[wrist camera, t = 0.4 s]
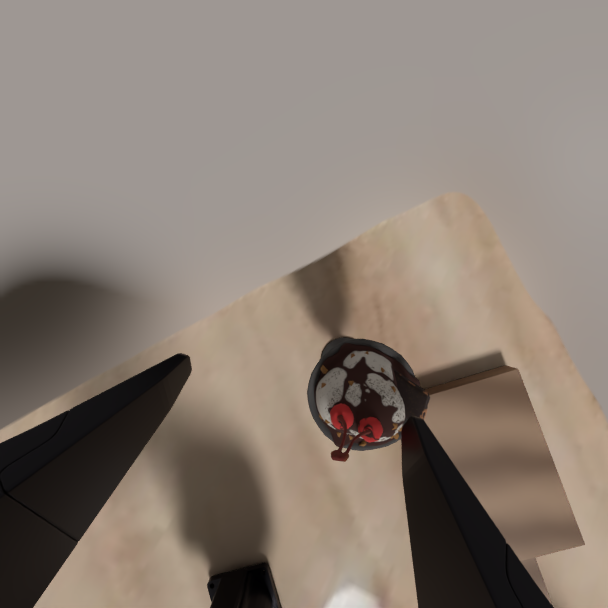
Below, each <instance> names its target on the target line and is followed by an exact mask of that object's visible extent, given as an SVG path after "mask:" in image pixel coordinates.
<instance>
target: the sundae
mask: <svg viewBox="0 0 608 608" xmlns="http://www.w3.org/2000/svg"><path fill="white" fill-rule="evenodd" d="M307 395H308V403H309V408H310V411H311V414H312V416H313V418H314V420H315V422H316V424H317V425H318V427H319V428H320V429H321V431H322V432H323V433H324V435H325V436H327V437H328V438H329V439H330V440H332V441H333V442H334V444H335V445H336V446H338V447H339V449H338V450H334V451H332V452H331V458H332V459H333V460H336V461H344V462H345V461H346V460H347V459H348V457H349V454H348V453H349V451H350V449H351V450H359V451H364V450H372V449H377V448H382V447H386V446H389V445H391V444H393V443H395V442H397V441H398V440H400V439H401V431H402V427H403V425H404V424H405V423H406V421H407V420H408V418H409V417H410V416H416V417H419V418H422V419H423V420H424V419H425V416H426V413H427V408H428V403H429V400H430V395H429V393H428V392H427V391H425V390H424V389H423V388H421V387H420V382H419V380H418V379H417V378H415V375H414V373H413V370H412V369H411V367H410V366H409V364H408V363H407V362H406V360H405V359H404V358H403V357H402V356H401V355H400V354H399V353H397V352H396V351H394V350H393V349H391V348H390V347H388V346H386V345H384V344H382V343H379V342H375V341H372V340H366V339H351V338H345V337H343V338H338V339H335V340H333V341H331V342H330V343H329V344H327V346H326V347H325V349H324V350H323V352H322V356H321V359H320V361H319V362H318V363H317V365H316V367H315V368H314V370H313V372H312V374H311V377H310V380H309V384H308V391H307ZM342 448H347V450H346V452H344V453H342Z"/></svg>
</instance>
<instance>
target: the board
mask: <svg viewBox="0 0 608 608" xmlns="http://www.w3.org/2000/svg"><path fill="white" fill-rule="evenodd" d="M424 390H425V391H427V392H428V393H429V395H430V400H429V403H428V408H427V413H426V416H425V419H424V421H425V422H426V424H427V425H428V427H429V428H430V430H431V431H432V433H433V434H434V436H435V437H436V438H437V440H438V441H439V443H440V444H441V446H442V447H443V449H444V450H445V452H446V453H447V455H448V456H449V458H450V459H451V460H452V462H453V463H454V465H455V466H456V468H457V469H458V471H459V472H460V474H461V475H462V477H463V478H464V479H465V481H466V482H467V484H468V485H469V487H470V488H471V490H472V491H473V493H474V494H475V496H476V497H477V498H478V500H479V501H480V503H481V504H482V506H483V507H484V509H485V510H486V512H487V513H488V515H489V516H490V517H491V519H492V520H493V522H494V523H495V525H496V526H497V528H498V529H499V531H500V532H501V534H502V535H503V536H504V538H505V539H506V543H508V544H509V545H510V547H511V548H512V549H513V551H514V552H515V554H516V555H517V557H518V558H519V560H520V561H521V563H522V564H523V565H524V567H525V568H526V570H527V571H528V573H529V574H530V575H531V577H532V578H533V580H534V581H535V583H536V584H537V585H538V587H539V588H540V590H541V591H542V592H543V594H544V595H545V596H546V598H547V599H548V600H549V602H550V603H551V604H552V602H551V599H550V597H549V594H548V591H547V589H546V586H545V583H544V580H543V578H542V575H541V572H540V569H539V567H538V564H537V561H536V558H535V557H538V556H542V555H546V554H550V553H554V552H558V551H562V550H566V549H570V548H574V547H578V546H582V545H585V543H584V541H583V538H582V535H581V533H580V530H579V527H578V525H577V522H576V520H575V517H574V514H573V512H572V509H571V506H570V504H569V501H568V499H567V496H566V493H565V491H564V488H563V485H562V483H561V480H560V477H559V475H558V472H557V470H556V467H555V464H554V462H553V459H552V456H551V454H550V451H549V449H548V446H547V443H546V441H545V438H544V435H543V433H542V430H541V428H540V425H539V422H538V420H537V417H536V414H535V412H534V409H533V407H532V404H531V401H530V399H529V396H528V393H527V391H526V388H525V386H524V383H523V380H522V378H521V375H520V372H519V370H518V369H516V368H513V367H509V366H502V367H498V368H495V369H492V370H488V371H485V372H482V373H478V374H475V375H471V376H468V377H465V378H461V379H458V380H455V381H451V382H448V383H445V384H441V385H438V386H435V387H431V388H428V389H424Z"/></svg>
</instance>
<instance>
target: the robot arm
mask: <svg viewBox="0 0 608 608" xmlns="http://www.w3.org/2000/svg"><path fill="white" fill-rule="evenodd" d="M191 370H192V367H191V361H190V357H189V356H188V355H185V354H182V353H179V354H176V355H174V356H172V357H170V358H168V359H166V360H164V361H162V362H161V363H159V364H157V365H155V366H153V367H151V368H149V369H147V370H145V371H143V372H141V373H139V374H137V375H135V376H133V377H132V378H130V379H128V380H126V381H124V382H122V383H120V384H118V385H116V386H114V387H112V388H110V389H108V390H106V391H104V392H102V393H101V394H99V395H97V396H95V397H93V398H91V399H89V400H87V401H85V402H83V403H81V404H79V405H77V406H75V407H73V408H71V409H70V411H65V412H64V413H62V414H60V415H58V416H56V417H54V418H52V419H50V420H48V421H46V422H44V423H42V424H40V425H38V426H36V427H34V428H32V429H30V430H28V431H25V432H23V433H21V434H19V435H17V436H15V437H13V438H10V439H8V440H6V441H4V442H2V443H0V608H33V607H34V605H35V604H36V603H37V601H38V600H39V598H40V597H41V595H42V594H43V592H44V591H45V590H46V588H47V587H48V585H49V584H50V582H51V581H52V580H53V578H54V577H55V575H56V574H57V572H58V571H59V569H60V568H61V567H62V565H63V564H64V562H65V561H66V559H67V558H68V557H69V555H70V554H71V552H72V551H73V549H74V548H75V546H76V545H77V544H78V541H79V540H80V539H81V538H82V536H83V535H84V533H85V532H86V530H87V529H88V527H89V526H90V525H91V523H92V522H93V520H94V519H95V517H96V516H97V514H98V513H99V512H100V510H101V509H102V507H103V506H104V504H105V503H106V502H107V500H108V499H109V497H110V496H111V494H112V493H113V491H114V490H115V489H116V487H117V486H118V484H119V483H120V481H121V480H122V479H123V477H124V476H125V474H126V473H127V471H128V470H129V468H130V467H131V466H132V464H133V463H134V461H135V460H136V458H137V457H138V456H139V454H140V453H141V451H142V450H143V448H144V447H145V445H146V444H147V443H148V441H149V440H150V438H151V437H152V435H153V434H154V433H155V431H156V430H157V428H158V427H159V425H160V424H161V422H162V421H163V420H164V418H165V417H166V415H167V414H168V412H169V411H170V409H171V408H172V406H173V404H174V403H175V401H176V399H177V397H178V395H179V394H180V392H181V390H182V388H183V386H184V385H185V383H186V381H187V379H188V377H189V376H190V374H191ZM401 441H402V477H403V486H404V494H405V503H406V511H407V519H408V527H409V535H410V543H411V551H412V559H413V568H414V576H415V584H416V592H417V600H418V608H554V607H553V606H552V604H551V603H550V602H549V600H548V599H547V598H546V596H545V595H544V594H543V592H542V591H541V590H540V588H539V587H538V585H537V584H536V583H535V581H534V580H533V578H532V577H531V575H530V574H529V573H528V571H527V570H526V568H525V567H524V565H523V564H522V563H521V561H520V560H519V558H518V557H517V555H516V554H515V552H514V551H513V549H512V548H511V547H510V545H509V544H508V543H506V539H505V538H504V536H503V535H502V534H501V532H500V531H499V529H498V528H497V526H496V525H495V523H494V522H493V520H492V519H491V517H490V516H489V515H488V513H487V512H486V510H485V509H484V507H483V506H482V504H481V503H480V501H479V500H478V498H477V497H476V496H475V494H474V493H473V491H472V490H471V488H470V487H469V485H468V484H467V482H466V481H465V479H464V478H463V477H462V475H461V474H460V472H459V471H458V469H457V468H456V466H455V465H454V463H453V462H452V460H451V459H450V458H449V456H448V455H447V453H446V452H445V450H444V449H443V447H442V446H441V444H440V443H439V441H438V440H437V438H436V437H435V436H434V434H433V433H432V431H431V430H430V428H429V427H428V425H427V424H426V422H425V421H424V420H423V419H422V418H419V417H416V416H410V417H409V418H408V420H407V421H406V423H405V424H404V425H403V427H402V431H401ZM264 570H265V571H264ZM207 587H208V591H209V595H210V598H211V602H212V604H211V606H210V608H281V607H280V604H279V600H278V597H277V593H276V590H275V586H274V583H273V579H272V576H271V572H270V569H269V566H268V564H266V563H261V564H257V565H253V566H249V567H246V568H242V569H238V570H234V571H231V572H227V573H223V574H220V575H216V576H212V577H211V578H210V579H209V582H208V584H207Z"/></svg>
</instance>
